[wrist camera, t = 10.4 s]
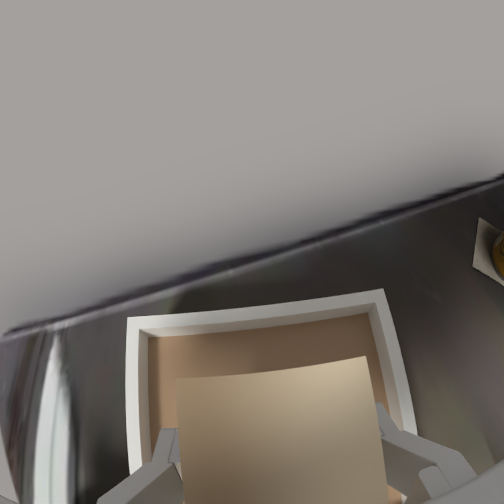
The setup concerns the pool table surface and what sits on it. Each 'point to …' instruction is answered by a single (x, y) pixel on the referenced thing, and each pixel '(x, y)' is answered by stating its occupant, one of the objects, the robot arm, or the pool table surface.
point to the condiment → (489, 251)
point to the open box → (258, 356)
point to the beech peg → (282, 437)
